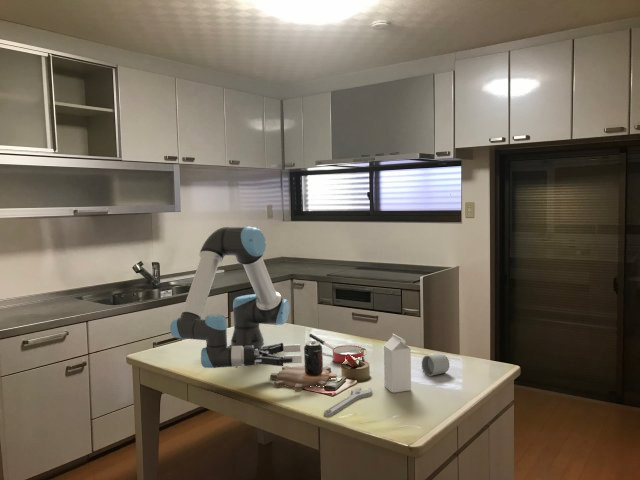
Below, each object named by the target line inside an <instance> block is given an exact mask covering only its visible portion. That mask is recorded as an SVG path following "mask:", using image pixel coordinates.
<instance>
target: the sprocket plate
mask: <svg viewBox="0 0 640 480" xmlns="http://www.w3.org/2000/svg"><path fill="white" fill-rule="evenodd" d="M331 372H332V367H330V366H323V372H322V373H321V374H320V375H319V376H309V375H307V374H306V373H305V364H304V365H298V366H297V365H296V366H292V367H290V366H288V365H286V366H285V365H284V366H281V370H280V371H279V372H271V373H270V375H269V377H270V378H269V379H270V380H274V381H273V386H274V387H276V388H281V387H283V386H284V387H287V388H292V389H294V391H295V392H296V391H298V392H302V391H303V389H306V388H305V387H310V386H316V385H317V386H316V387H318V386H320V387H323V386H325V385H326V384H327V383H328V382H329V381H330V380H329V379H331V378H336V377H337V374H338V373H331ZM336 379H337V378H336ZM328 380H329V381H328ZM327 381H328V382H327ZM320 387H319V388H320ZM310 388H311V387H310ZM323 388H324V387H323Z"/></svg>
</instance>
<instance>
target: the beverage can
mask: <svg viewBox="0 0 640 480" xmlns="http://www.w3.org/2000/svg"><path fill="white" fill-rule="evenodd" d="M303 355H304V358H303V359H304V365H305V373H306V374H307V375H309V376H319V375H320V374H321V373H322V372H323V367H324V364H323V363H324V362H323V359H324V358H323V346H322V344H321V343H320V342H318V341H316V340H309V341H307V342H305V345H304V347H303Z"/></svg>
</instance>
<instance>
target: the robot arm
mask: <svg viewBox="0 0 640 480" xmlns="http://www.w3.org/2000/svg"><path fill="white" fill-rule="evenodd" d="M266 247H267V244H266V237H265V235H264V233H263V231H262V230H261V229H259V228H258V227H255V226H253V227H252V226H240V227H239V226H231V227H229V226H223V227H220V228H218V229H217V230H215V231H213V232H212V233H211V234H210V235H208V237H207V239H206V240H205V241H204V242H203V244H202V246H201V249H200V252H199V257H200V259H199V262H198V264H197V269H196V272H195V274H194V277H193V279H192V283H191V286H190V287H189V291H188V294H187V297H186V300H185V303H184V306H183V309H182V311H181V314H180V316H179V317H175V318H174V319H173V320H172V321H171V323H170V327H169V332H170V335H171V336H172V337H173V338H176V339H182V340H196V341H197V340H198V341H206V346H205V347H203V348H201V351H200V363H201V366H202V367H203V368H205V369H207V368H208V369H216V368H219V369H220V368H232V367H233V368H236V369H238V367H243V366H244V367H253V366H255V365H267V366H277V367H284V365H287V364H301V363H302V359H303V358H302V354H292V355H291V354H290V355H283V356H281V355H276V354H279V353H298V352H299V353H301V344H300V343H298V344H284V343H283V342H280V343H275V344H270V345H265V346H263V345H264V342H265V341H264V337H263V333H262V332H261V328H260V325H274V326H279V325H280V326H282V325H285V324H286V323H287V320H288V318H289V314H290V302H289V300H288V299H286V298H283V297H282V296H281V294H280V292H278V291H276V289H275V287H274V284H273V282H272V279H271V276H270V274H269V271H268V269H267V266H266V264H265V261H264V258H263V256H264V253H265V251H266V249H267V248H266ZM226 256H232V257H233V256H234V257H235V258H236V260H237V262H238V264H240V265H242V266H243V268H244V270H245V272H246V275H247V277H248V279H249V282H250V285H251V286H252V289H253V292H254V293H253V294H245V295H240V296H237V297H235V298H234V299H233V301H232V302H233V303H232V309H233V326H234V327H233V328H234V329H233V332H232V336H231V340H230V346H228V338H227V337H228V334H227V329H228V326H227V319H226V316H225V315H224V314H219V313H215V314H208V315H207V316H205V319H202V316H203V313H204V311H205V310H204V309H205V306H206V305H207V304H206V303H207V302H208V298H209V295H210V291H211V288H212V285H213V283H214V280H215V276H216V273H217V271H218V268H219V264H221V263H222V262H223V259H224V257H226ZM255 348H257V349H255Z"/></svg>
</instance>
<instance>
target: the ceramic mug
mask: <svg viewBox="0 0 640 480" xmlns="http://www.w3.org/2000/svg"><path fill="white" fill-rule="evenodd" d="M421 359H422V360H421V370H423V372H424V374H425V375H426V376H428V377H432V376H436V375H442V374H445V373H447V372H448V371H449V369H450V361H449V360H450V359H448V357H447V356H446V355H445V354H443V353H437V354H425V355H424V356H423V357H422V358H421Z"/></svg>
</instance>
